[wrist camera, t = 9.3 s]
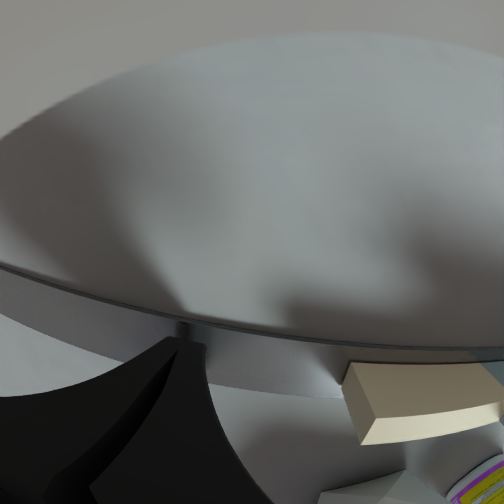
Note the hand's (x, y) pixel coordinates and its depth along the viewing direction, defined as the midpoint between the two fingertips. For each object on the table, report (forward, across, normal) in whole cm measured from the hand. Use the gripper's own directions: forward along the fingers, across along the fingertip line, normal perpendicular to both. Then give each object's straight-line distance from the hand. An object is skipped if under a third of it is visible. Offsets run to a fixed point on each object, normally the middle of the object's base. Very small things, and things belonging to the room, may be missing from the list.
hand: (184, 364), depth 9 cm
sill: (+1, -9, 0) cm, 9 cm away
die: (+1, -11, +10) cm, 15 cm away
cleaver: (+1, -18, 0) cm, 18 cm away
